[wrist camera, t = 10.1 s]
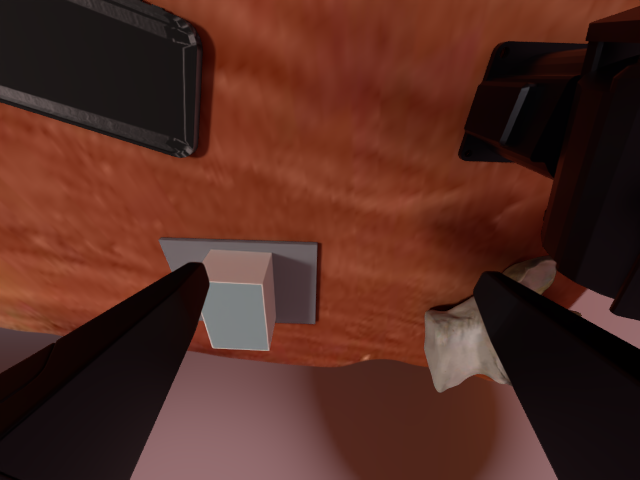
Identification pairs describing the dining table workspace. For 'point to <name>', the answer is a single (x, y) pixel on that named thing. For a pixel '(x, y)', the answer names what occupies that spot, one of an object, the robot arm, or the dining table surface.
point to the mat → (288, 270)
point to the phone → (105, 69)
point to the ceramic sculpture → (475, 332)
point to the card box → (239, 299)
